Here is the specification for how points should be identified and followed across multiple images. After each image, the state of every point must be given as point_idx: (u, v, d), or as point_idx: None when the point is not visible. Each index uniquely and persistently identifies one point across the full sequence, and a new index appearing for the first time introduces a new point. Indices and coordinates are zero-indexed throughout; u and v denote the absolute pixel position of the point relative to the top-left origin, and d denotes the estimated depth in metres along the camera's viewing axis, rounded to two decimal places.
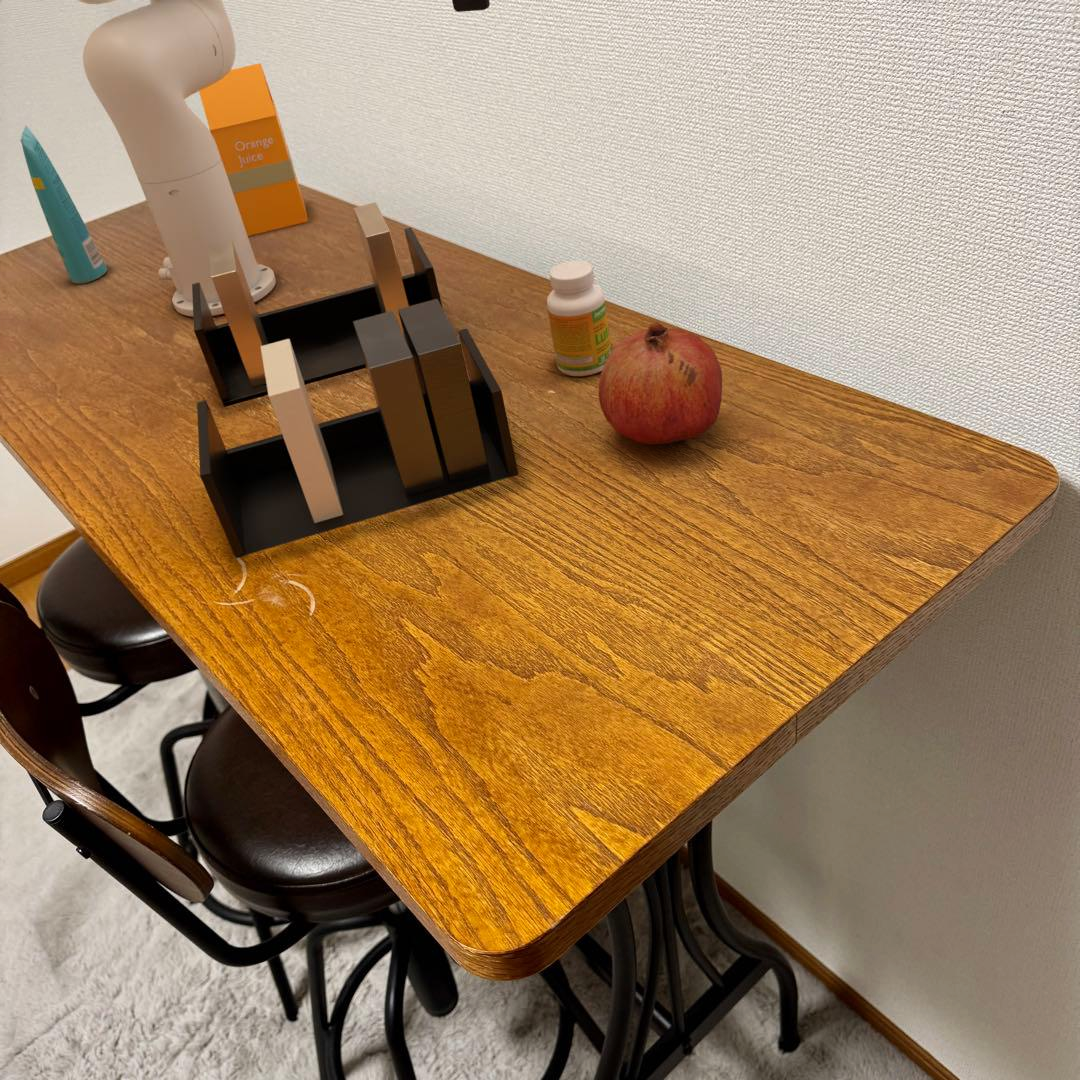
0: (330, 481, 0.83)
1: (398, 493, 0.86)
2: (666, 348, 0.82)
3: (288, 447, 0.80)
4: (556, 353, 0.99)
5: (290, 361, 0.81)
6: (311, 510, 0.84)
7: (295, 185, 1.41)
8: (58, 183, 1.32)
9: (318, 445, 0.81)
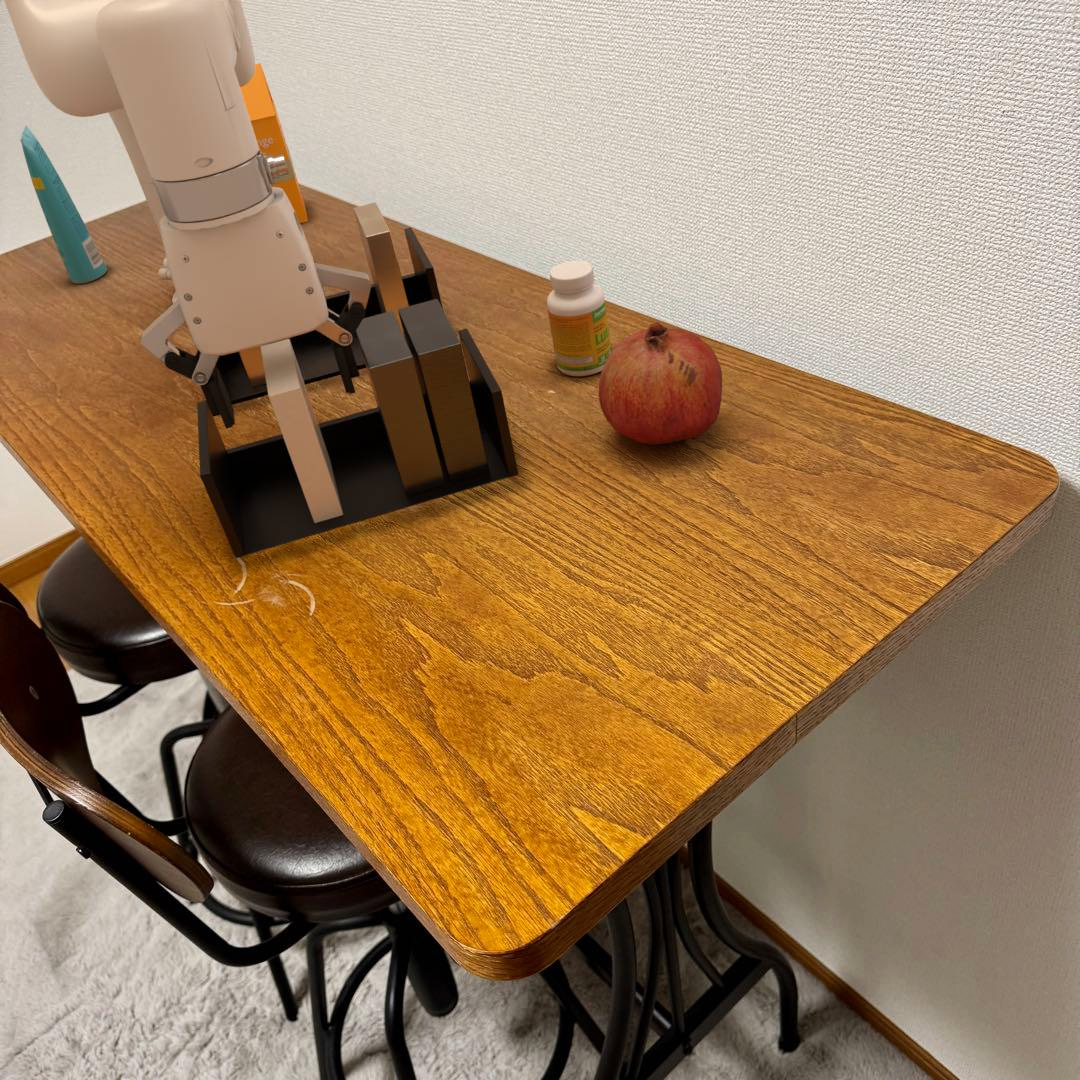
0: (330, 481, 0.83)
1: (398, 493, 0.86)
2: (666, 348, 0.82)
3: (288, 447, 0.80)
4: (556, 353, 0.99)
5: (290, 361, 0.81)
6: (311, 510, 0.84)
7: (295, 185, 1.41)
8: (58, 183, 1.32)
9: (318, 445, 0.81)
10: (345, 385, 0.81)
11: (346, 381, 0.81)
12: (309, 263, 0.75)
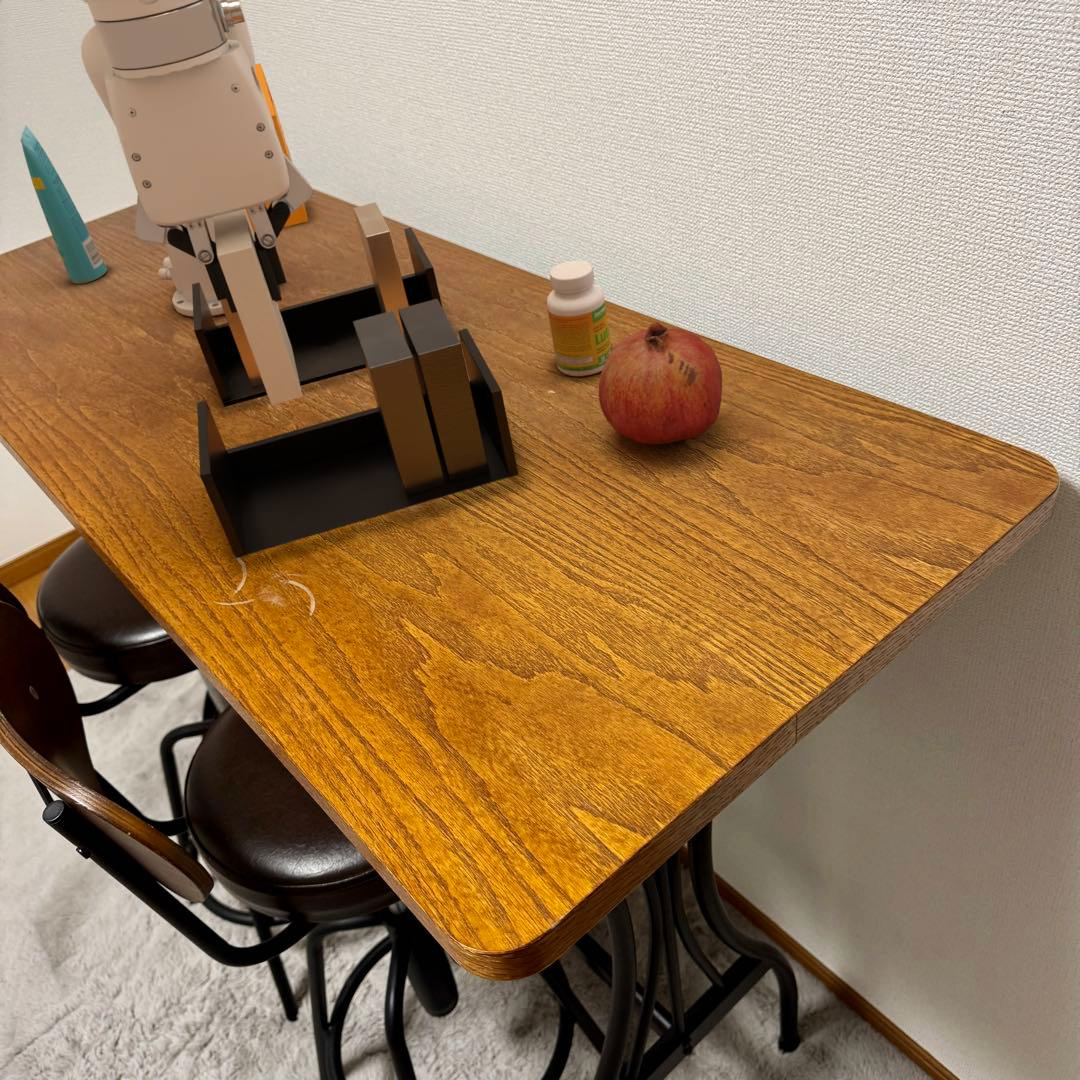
0: (287, 357, 0.77)
1: (398, 493, 0.86)
2: (666, 348, 0.82)
3: (240, 316, 0.74)
4: (556, 353, 0.99)
5: (243, 224, 0.75)
6: (267, 390, 0.78)
7: None
8: (58, 183, 1.32)
9: (273, 315, 0.74)
10: (270, 292, 0.77)
11: (271, 287, 0.76)
12: (268, 123, 0.70)
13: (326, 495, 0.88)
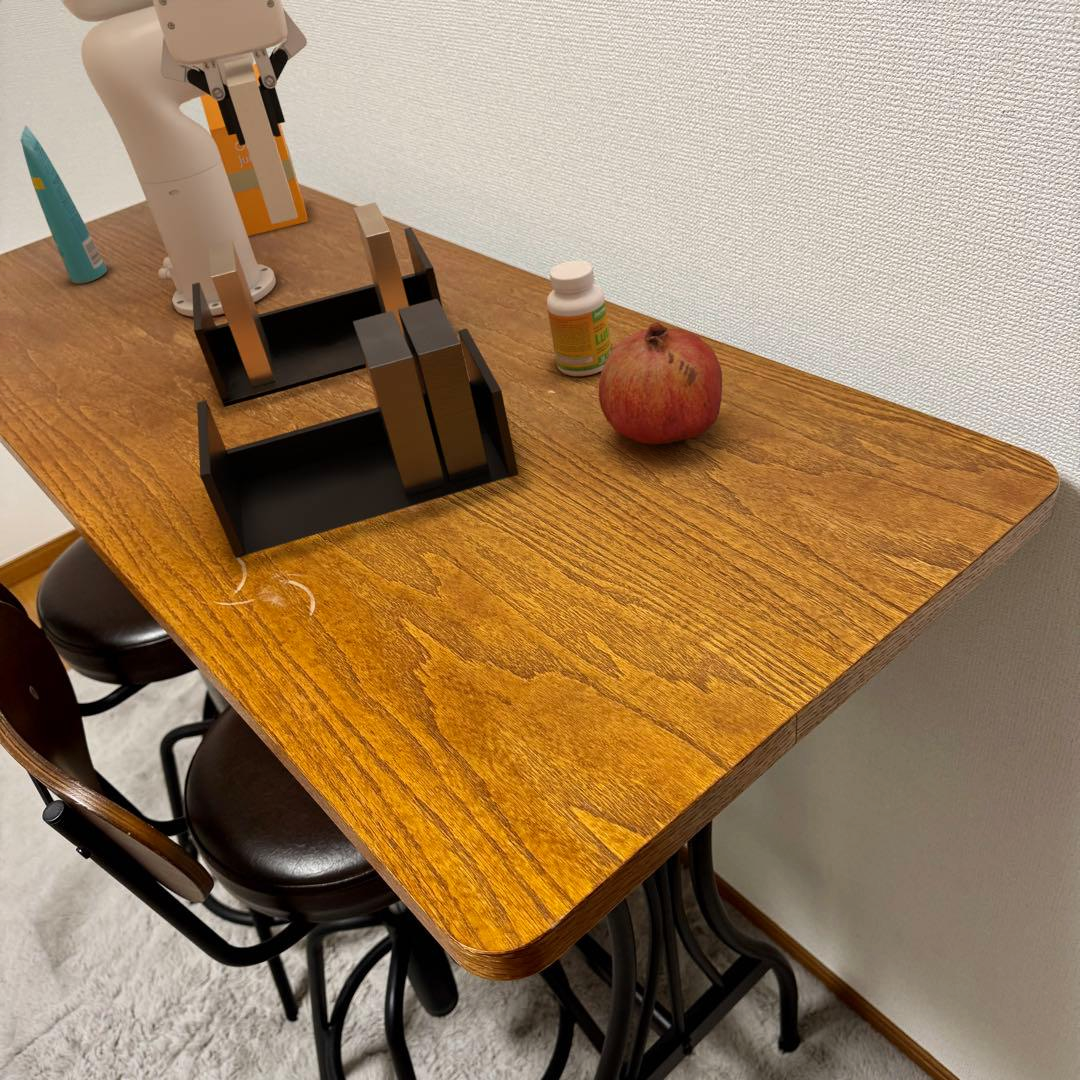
0: (285, 181, 0.92)
1: (398, 493, 0.86)
2: (666, 348, 0.82)
3: (246, 142, 0.90)
4: (556, 353, 0.99)
5: (249, 68, 0.91)
6: (268, 210, 0.93)
7: (295, 185, 1.41)
8: (58, 183, 1.32)
9: (273, 142, 0.90)
10: (271, 127, 0.92)
11: (272, 123, 0.92)
12: None
13: (326, 495, 0.88)
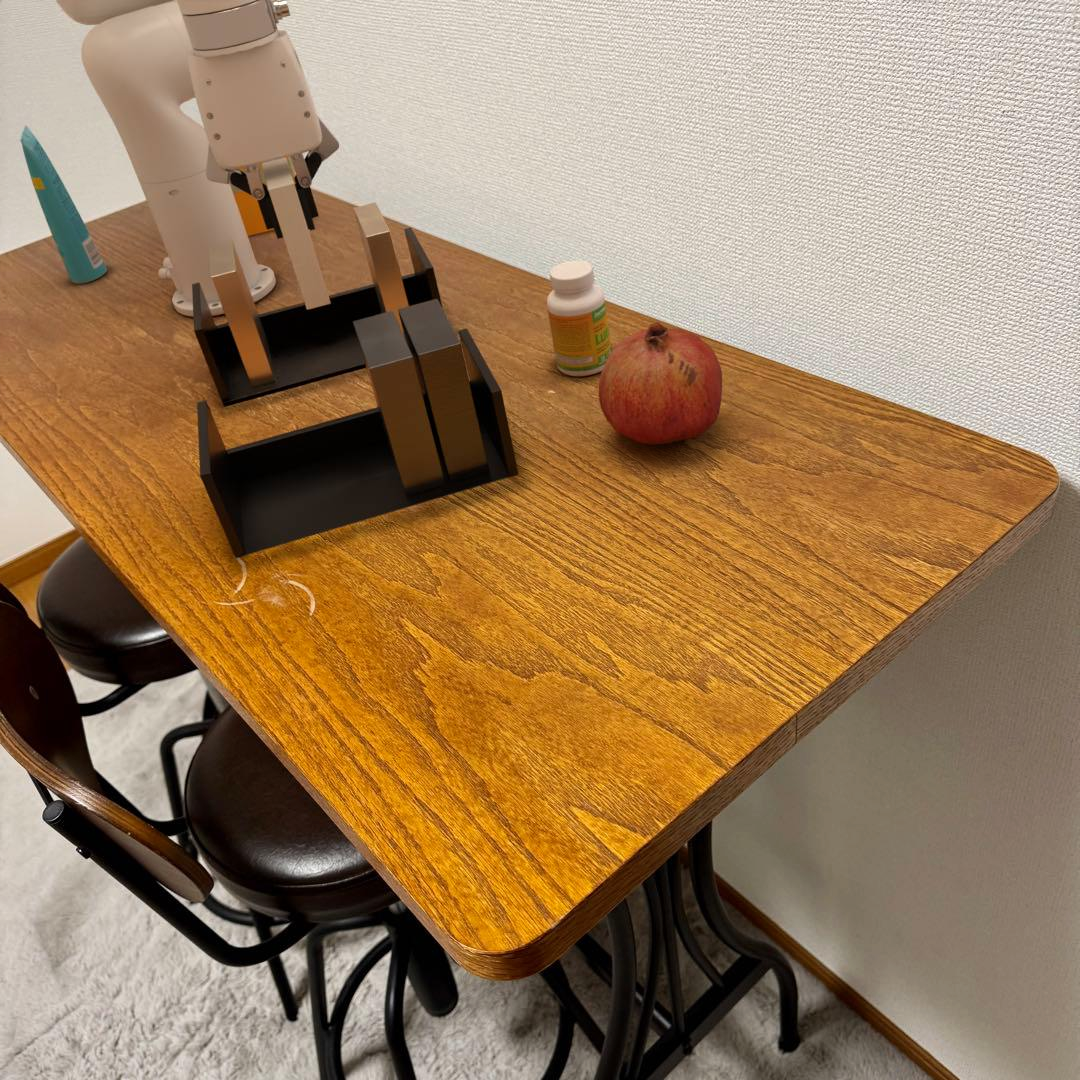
0: (319, 271, 1.00)
1: (398, 493, 0.86)
2: (666, 348, 0.82)
3: (284, 237, 0.98)
4: (556, 353, 0.99)
5: (286, 169, 0.99)
6: (304, 297, 1.01)
7: None
8: (58, 183, 1.32)
9: (309, 237, 0.98)
10: (306, 222, 1.00)
11: (307, 218, 1.00)
12: (306, 91, 0.94)
13: (326, 495, 0.88)
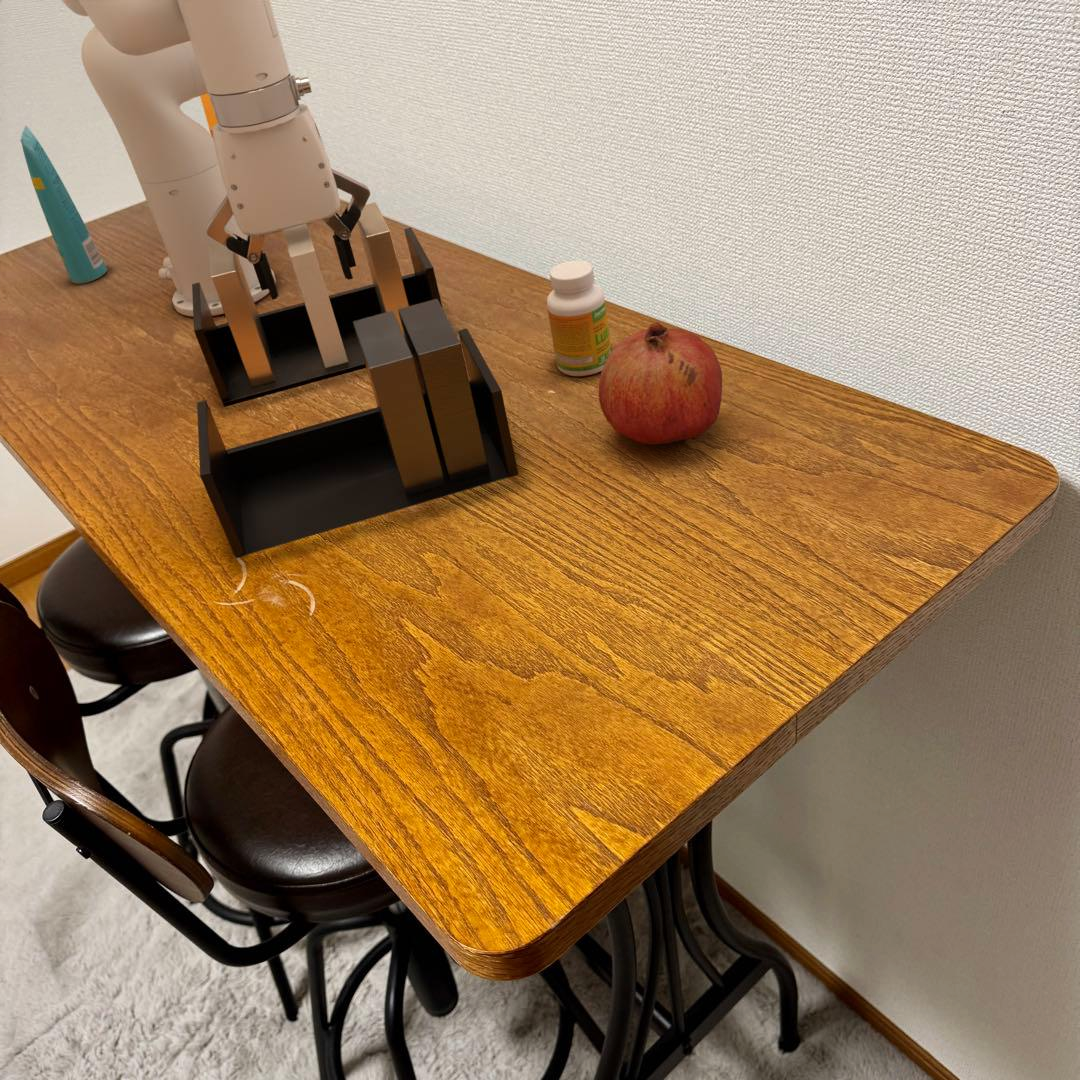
0: (338, 332, 1.04)
1: (398, 493, 0.86)
2: (666, 348, 0.82)
3: (305, 301, 1.02)
4: (556, 353, 0.99)
5: (306, 234, 1.03)
6: (323, 356, 1.05)
7: None
8: (58, 183, 1.32)
9: (328, 300, 1.02)
10: (345, 272, 1.05)
11: (345, 269, 1.04)
12: (326, 163, 0.98)
13: (326, 495, 0.88)
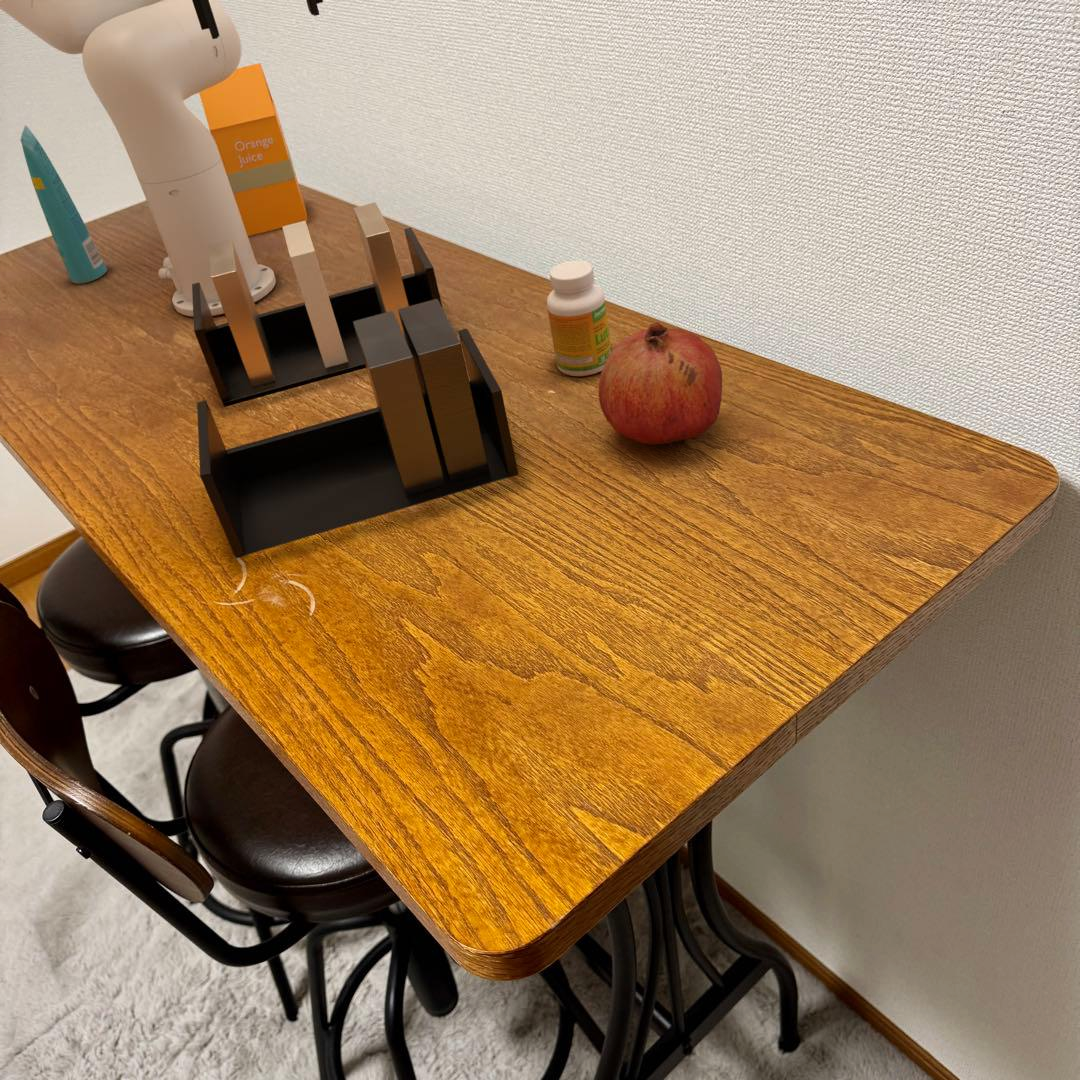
0: (338, 332, 1.04)
1: (398, 493, 0.86)
2: (666, 348, 0.82)
3: (305, 301, 1.02)
4: (556, 353, 0.99)
5: (306, 234, 1.03)
6: (323, 356, 1.05)
7: (295, 185, 1.41)
8: (58, 183, 1.32)
9: (328, 300, 1.02)
10: (310, 6, 0.99)
11: (311, 2, 0.98)
12: None
13: (326, 495, 0.88)
